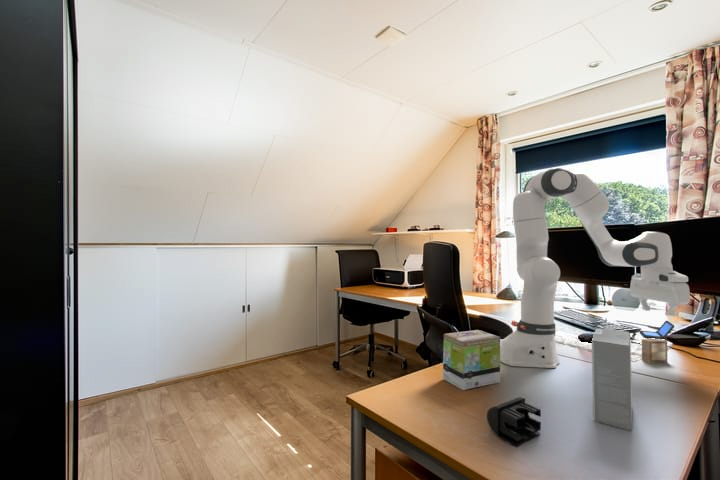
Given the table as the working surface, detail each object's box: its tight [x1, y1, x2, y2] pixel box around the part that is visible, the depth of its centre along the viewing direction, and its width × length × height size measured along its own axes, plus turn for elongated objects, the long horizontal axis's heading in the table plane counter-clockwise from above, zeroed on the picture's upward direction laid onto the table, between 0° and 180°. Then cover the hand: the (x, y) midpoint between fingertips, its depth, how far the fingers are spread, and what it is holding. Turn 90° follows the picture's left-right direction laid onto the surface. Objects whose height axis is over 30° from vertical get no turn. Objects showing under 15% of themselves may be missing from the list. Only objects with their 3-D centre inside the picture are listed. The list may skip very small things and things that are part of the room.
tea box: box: [442, 329, 501, 391], centre depth 104 cm, size 15×10×15 cm
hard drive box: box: [591, 327, 633, 432], centre depth 84 cm, size 16×8×20 cm, turn 141°
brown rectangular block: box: [641, 338, 668, 364], centre depth 122 cm, size 7×3×8 cm, turn 94°
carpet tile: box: [555, 327, 669, 363], centre depth 146 cm, size 39×30×2 cm
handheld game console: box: [638, 320, 675, 340], centre depth 156 cm, size 12×11×7 cm
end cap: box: [486, 396, 542, 448], centre depth 75 cm, size 10×7×7 cm
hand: (657, 312), depth 121 cm, fingers open, 8 cm apart
